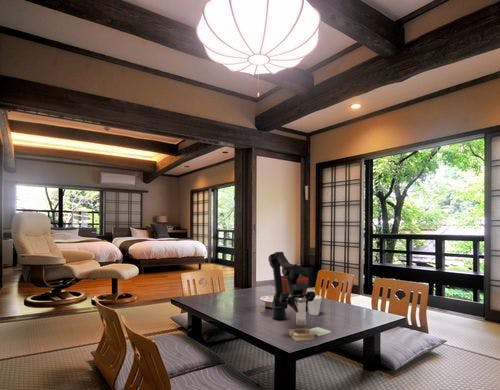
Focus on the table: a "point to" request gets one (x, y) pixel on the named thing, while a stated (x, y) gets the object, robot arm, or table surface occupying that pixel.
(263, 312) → the table surface
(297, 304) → the salt shaker
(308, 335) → the bore block
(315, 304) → the cup
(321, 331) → the pad
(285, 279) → the plant pot
